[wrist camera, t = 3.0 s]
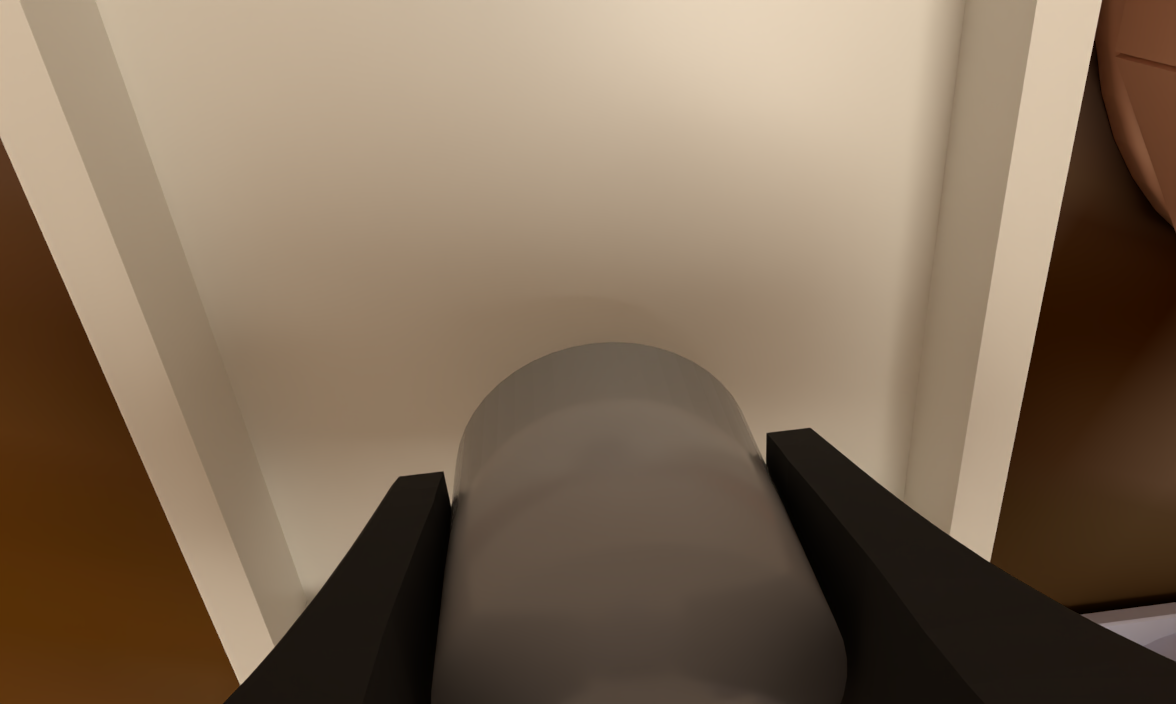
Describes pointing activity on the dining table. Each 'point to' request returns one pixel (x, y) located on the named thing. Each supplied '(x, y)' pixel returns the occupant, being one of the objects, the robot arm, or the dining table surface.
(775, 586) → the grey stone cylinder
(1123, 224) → the dining table surface
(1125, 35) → the bowl
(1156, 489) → the dining table surface
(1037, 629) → the robot arm
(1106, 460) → the dining table surface
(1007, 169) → the tray
